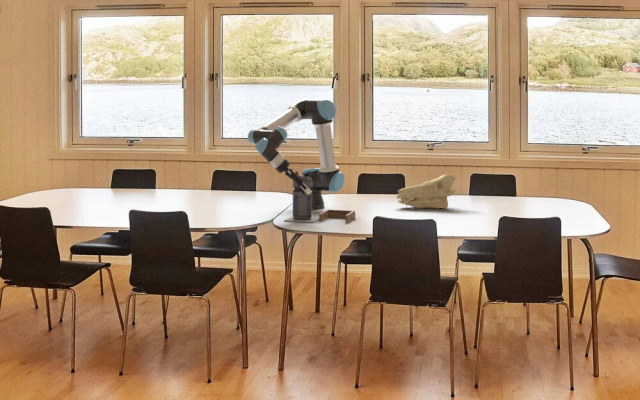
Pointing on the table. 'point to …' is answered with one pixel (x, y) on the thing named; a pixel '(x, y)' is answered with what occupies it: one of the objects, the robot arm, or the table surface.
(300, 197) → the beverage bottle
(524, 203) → the table surface
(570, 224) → the table surface
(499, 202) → the table surface
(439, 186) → the animal skull
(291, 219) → the grey rubber mat
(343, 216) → the walnut dock
